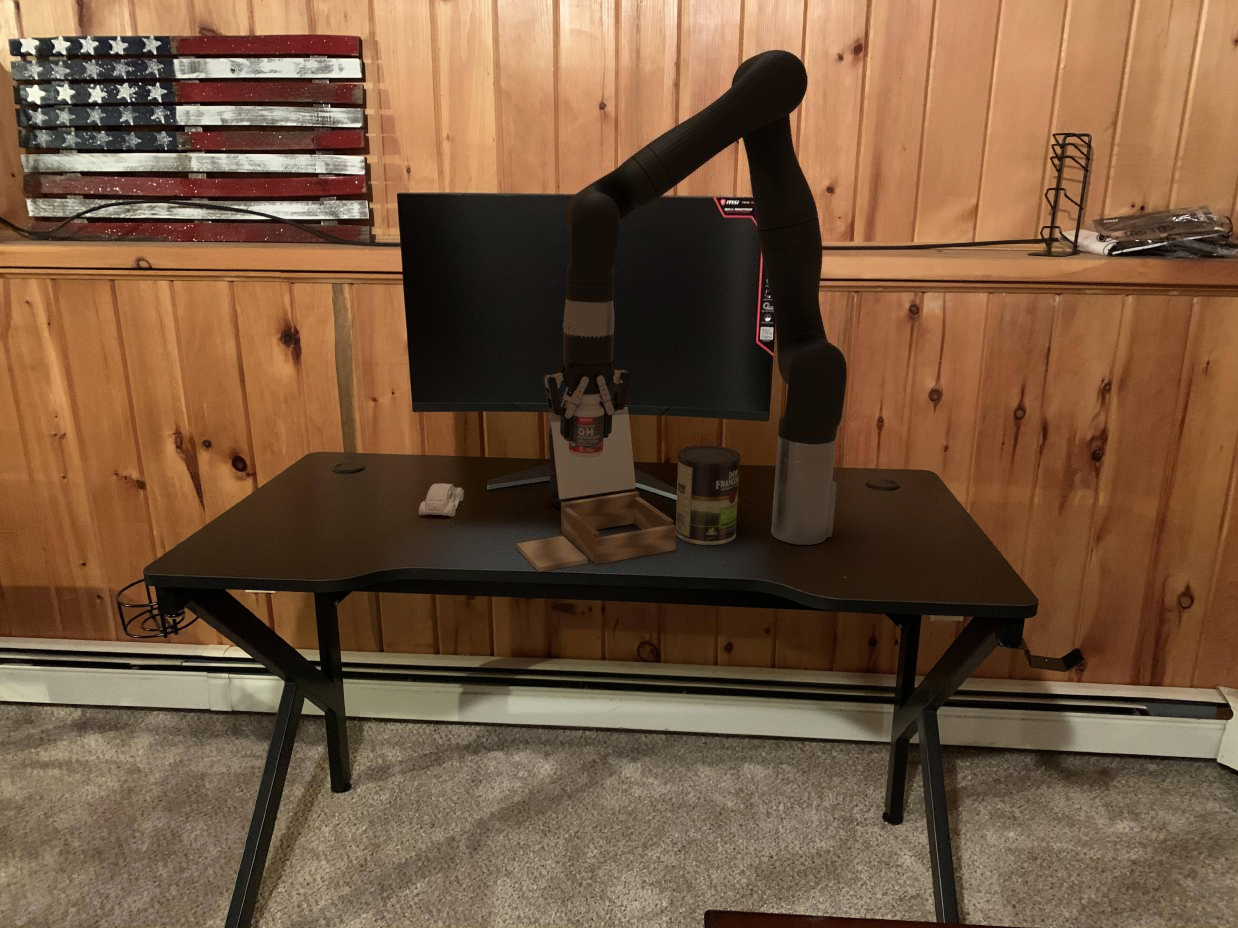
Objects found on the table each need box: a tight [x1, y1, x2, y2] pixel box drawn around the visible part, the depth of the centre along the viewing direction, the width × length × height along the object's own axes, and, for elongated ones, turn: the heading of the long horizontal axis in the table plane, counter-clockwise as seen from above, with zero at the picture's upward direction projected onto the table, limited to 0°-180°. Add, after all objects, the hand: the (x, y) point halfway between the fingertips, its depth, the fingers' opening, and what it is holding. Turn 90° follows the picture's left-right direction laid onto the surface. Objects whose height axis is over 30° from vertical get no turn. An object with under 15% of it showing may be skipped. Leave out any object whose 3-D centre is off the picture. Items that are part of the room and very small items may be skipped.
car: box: [418, 483, 465, 518], centre depth 164 cm, size 12×6×5 cm, turn 176°
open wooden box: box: [560, 490, 677, 565], centre depth 150 cm, size 14×14×5 cm
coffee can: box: [675, 444, 742, 546], centre depth 152 cm, size 10×10×14 cm
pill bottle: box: [569, 393, 604, 458], centre depth 142 cm, size 5×5×10 cm
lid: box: [549, 406, 637, 499], centre depth 155 cm, size 14×14×1 cm
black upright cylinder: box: [548, 424, 594, 509], centre depth 165 cm, size 8×8×15 cm
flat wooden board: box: [515, 535, 589, 573], centre depth 145 cm, size 8×10×1 cm
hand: (586, 437), depth 143 cm, fingers closed on pill bottle, 5 cm apart
